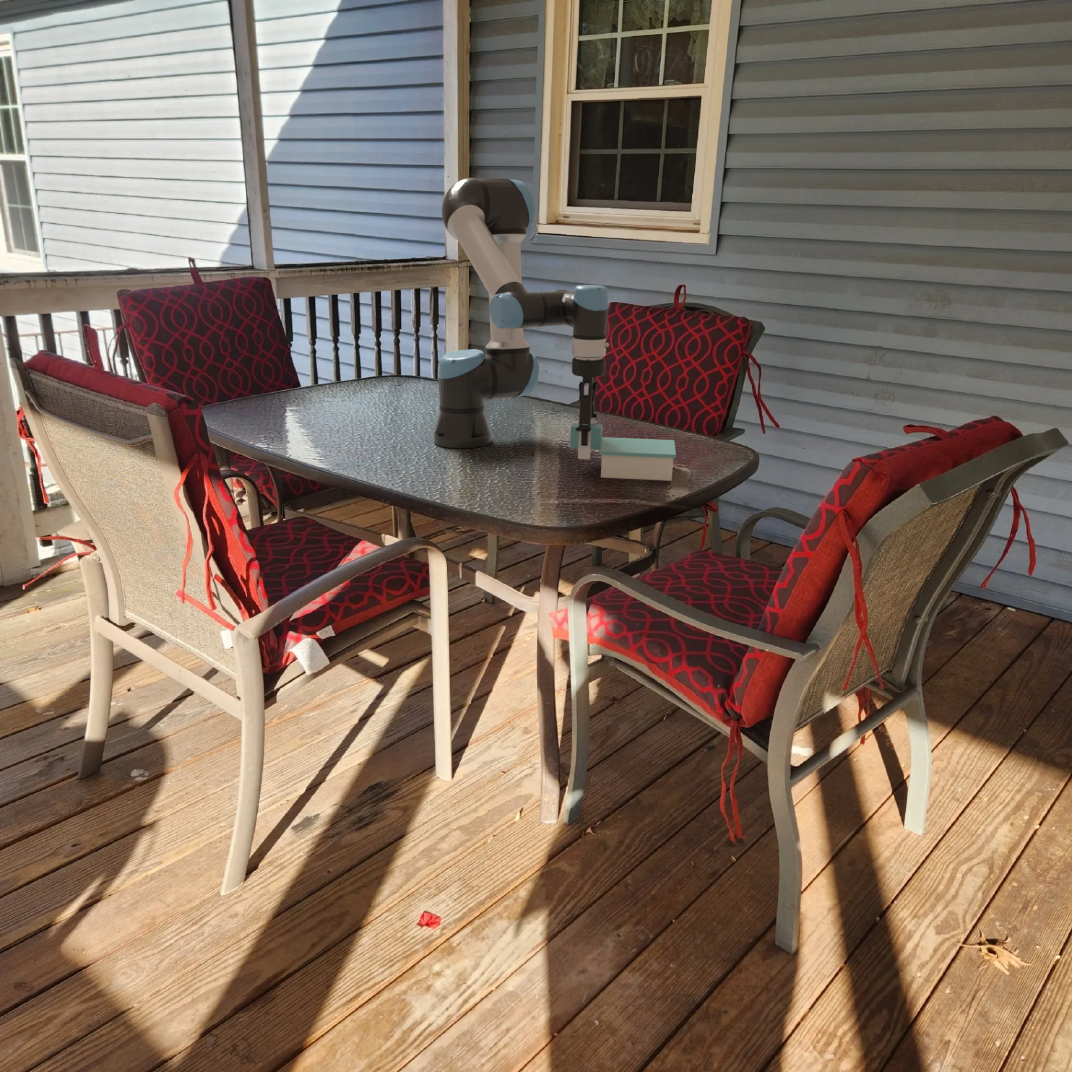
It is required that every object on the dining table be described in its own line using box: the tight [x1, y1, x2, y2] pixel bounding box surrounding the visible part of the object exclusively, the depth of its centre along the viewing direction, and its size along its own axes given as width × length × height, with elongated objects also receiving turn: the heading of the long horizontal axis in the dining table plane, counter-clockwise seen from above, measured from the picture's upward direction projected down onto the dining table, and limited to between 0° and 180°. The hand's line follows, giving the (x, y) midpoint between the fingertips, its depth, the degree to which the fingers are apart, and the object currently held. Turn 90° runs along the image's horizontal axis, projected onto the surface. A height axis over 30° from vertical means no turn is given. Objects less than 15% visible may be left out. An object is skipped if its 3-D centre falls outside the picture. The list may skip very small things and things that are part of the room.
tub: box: [600, 455, 674, 482], centre depth 198 cm, size 16×12×6 cm
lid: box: [569, 422, 677, 459], centre depth 197 cm, size 24×13×5 cm, turn 83°
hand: (585, 451), depth 199 cm, fingers open, 11 cm apart
